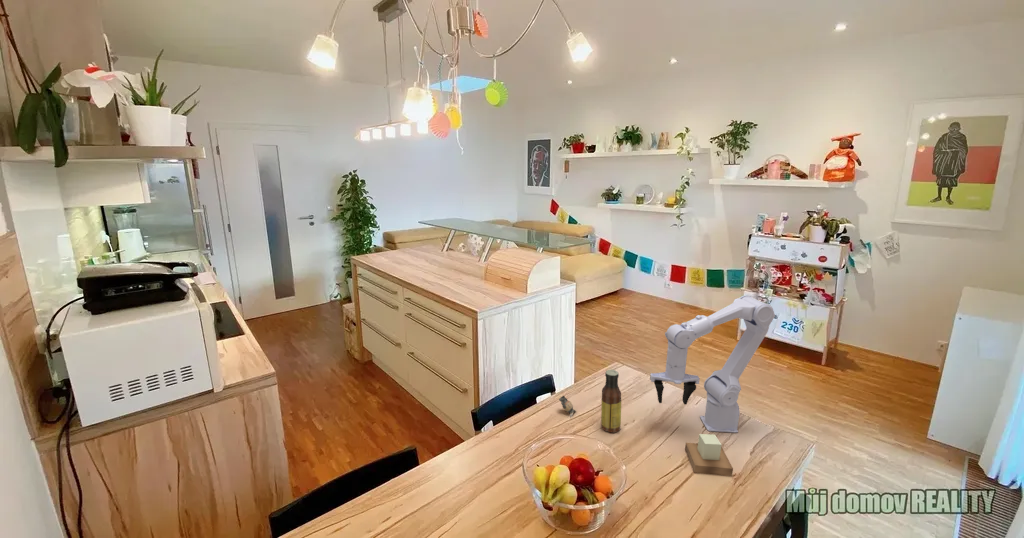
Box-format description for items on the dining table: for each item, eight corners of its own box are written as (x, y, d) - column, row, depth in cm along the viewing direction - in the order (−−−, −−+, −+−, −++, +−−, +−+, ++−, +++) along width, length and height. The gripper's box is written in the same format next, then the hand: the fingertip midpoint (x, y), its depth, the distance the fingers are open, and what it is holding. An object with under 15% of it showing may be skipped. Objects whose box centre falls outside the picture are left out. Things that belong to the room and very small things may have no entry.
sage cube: (712, 449, 125) (715, 434, 124) (719, 460, 121) (721, 444, 120) (697, 449, 126) (699, 434, 124) (703, 459, 121) (705, 443, 120)
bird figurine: (555, 414, 147) (556, 398, 146) (562, 408, 152) (563, 392, 150) (570, 419, 144) (571, 402, 143) (576, 412, 149) (577, 396, 148)
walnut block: (719, 454, 128) (720, 445, 127) (731, 477, 118) (733, 468, 118) (684, 451, 129) (685, 442, 129) (693, 474, 120) (695, 465, 119)
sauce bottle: (621, 424, 142) (625, 369, 137) (619, 435, 136) (623, 378, 131) (601, 420, 144) (604, 366, 139) (598, 431, 138) (601, 375, 133)
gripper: (655, 368, 130) (651, 407, 133) (704, 370, 129) (699, 410, 132) (650, 357, 137) (646, 395, 140) (697, 359, 135) (692, 398, 139)
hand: (672, 402), depth 136 cm, fingers open, 7 cm apart
